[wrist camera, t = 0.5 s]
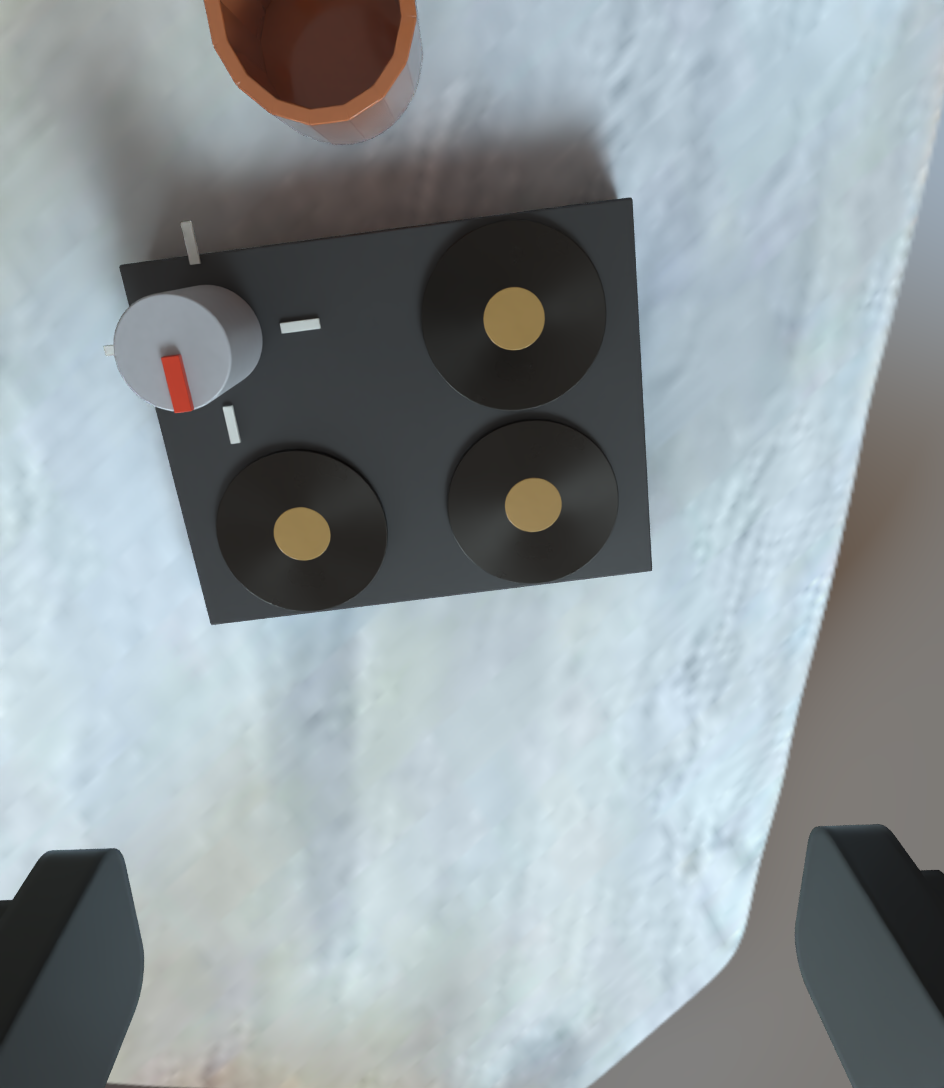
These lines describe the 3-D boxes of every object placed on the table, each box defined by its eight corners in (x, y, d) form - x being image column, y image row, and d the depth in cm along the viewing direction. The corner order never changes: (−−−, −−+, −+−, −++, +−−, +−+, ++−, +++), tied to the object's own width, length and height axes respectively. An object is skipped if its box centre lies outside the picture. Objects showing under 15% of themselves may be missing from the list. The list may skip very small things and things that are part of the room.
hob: (103, 236, 31) (72, 236, 29) (617, 168, 31) (632, 162, 28) (198, 604, 36) (180, 631, 34) (639, 549, 36) (653, 573, 33)
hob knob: (150, 291, 29) (94, 301, 25) (251, 278, 29) (214, 286, 25) (175, 393, 31) (126, 420, 26) (272, 380, 31) (240, 406, 26)
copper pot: (236, -35, 28) (182, -103, 23) (408, -60, 28) (398, -134, 23) (272, 155, 30) (230, 136, 25) (432, 133, 30) (429, 109, 25)
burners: (153, 266, 29) (150, 267, 29) (598, 207, 29) (600, 207, 29) (238, 617, 34) (236, 621, 34) (622, 570, 34) (624, 573, 33)
